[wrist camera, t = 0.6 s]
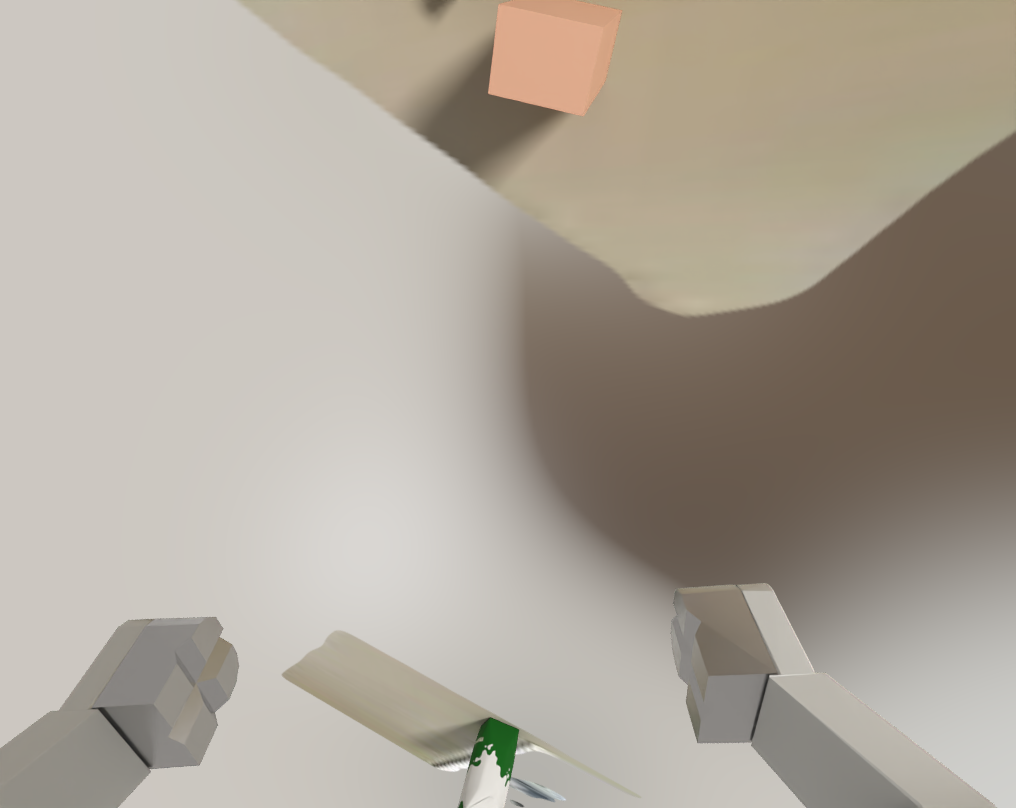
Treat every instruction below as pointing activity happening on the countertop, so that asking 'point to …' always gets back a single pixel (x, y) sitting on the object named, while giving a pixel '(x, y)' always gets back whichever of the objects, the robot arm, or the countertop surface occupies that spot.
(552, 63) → the terracotta block
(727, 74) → the countertop surface
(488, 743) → the milk carton
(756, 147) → the countertop surface
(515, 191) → the countertop surface
